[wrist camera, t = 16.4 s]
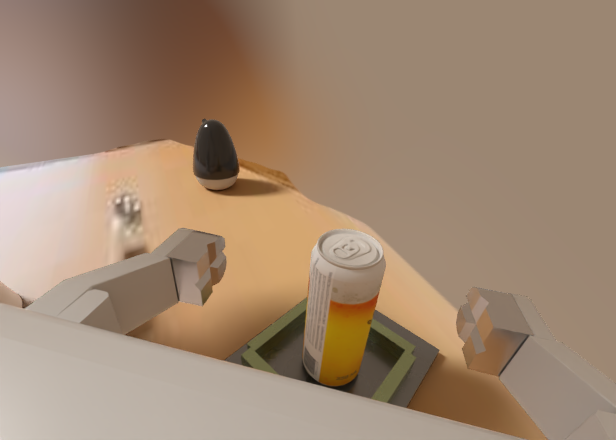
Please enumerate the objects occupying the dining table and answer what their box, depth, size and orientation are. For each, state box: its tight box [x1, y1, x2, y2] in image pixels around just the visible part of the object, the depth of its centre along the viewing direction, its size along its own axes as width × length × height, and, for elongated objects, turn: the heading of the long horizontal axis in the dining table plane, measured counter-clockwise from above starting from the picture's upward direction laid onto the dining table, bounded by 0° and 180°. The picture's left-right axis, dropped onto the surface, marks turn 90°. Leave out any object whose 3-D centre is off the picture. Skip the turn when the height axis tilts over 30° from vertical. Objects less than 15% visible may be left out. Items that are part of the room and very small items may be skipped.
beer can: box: [302, 229, 386, 386], centre depth 27 cm, size 6×6×15 cm
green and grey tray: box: [224, 298, 439, 408], centre depth 31 cm, size 20×16×3 cm
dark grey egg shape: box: [193, 119, 239, 190], centre depth 66 cm, size 10×10×15 cm
